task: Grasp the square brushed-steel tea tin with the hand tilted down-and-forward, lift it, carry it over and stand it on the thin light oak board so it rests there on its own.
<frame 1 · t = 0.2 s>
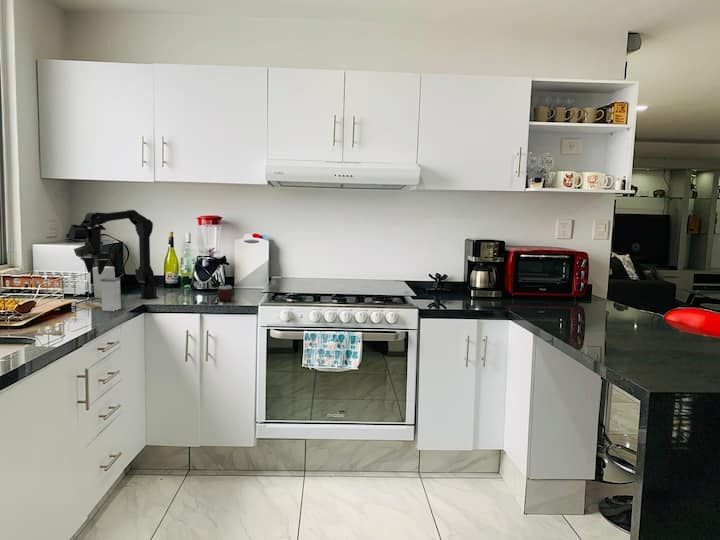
hand: (94, 273, 250), 15 cm above the worktop, tool pointing down, fingers open, 9 cm apart
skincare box: (105, 297, 273), on the worktop
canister: (111, 309, 241), on the worktop
mate gourd: (224, 301, 268), on the worktop
oak board: (91, 307, 250), on the worktop
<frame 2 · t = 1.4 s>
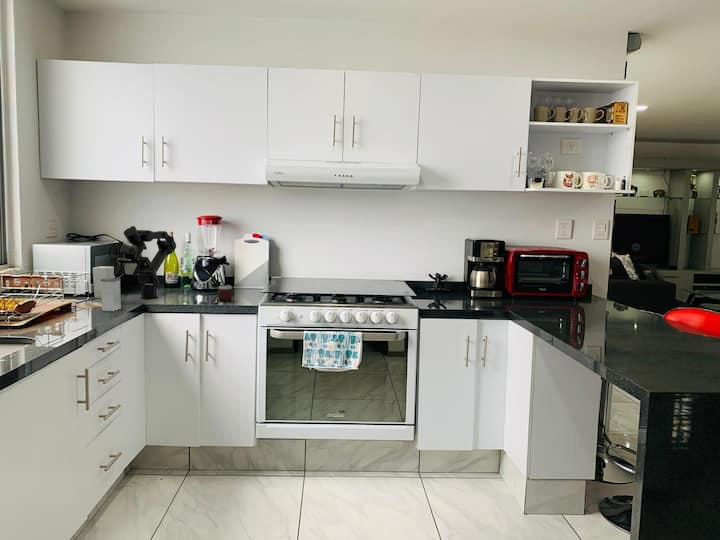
hand: (123, 275, 250), 14 cm above the worktop, tool tilted 45°, fingers open, 9 cm apart
nothing on the worktop moved.
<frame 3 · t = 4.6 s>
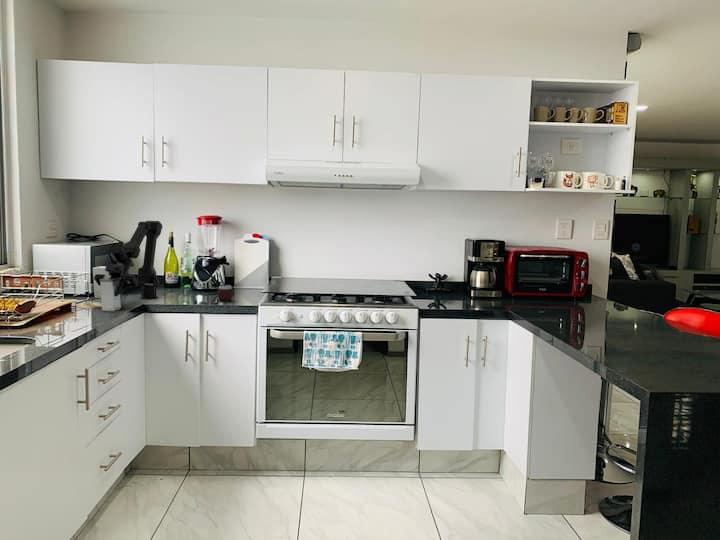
hand: (109, 295, 239), 7 cm above the worktop, tool tilted 45°, fingers closed on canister, 5 cm apart
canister: (111, 309, 241), on the worktop, touching gripper
everything else where it was.
when the fingers open (8 cm above the worktop, at t = 9.7 s): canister drops 2 cm, resting on oak board.
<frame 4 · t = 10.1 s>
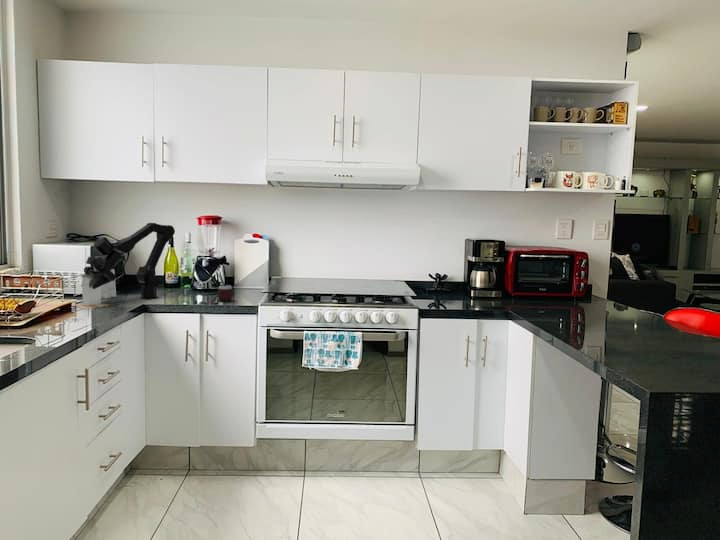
hand: (87, 287, 248), 9 cm above the worktop, tool tilted 45°, fingers open, 9 cm apart
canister: (91, 305, 250), resting on oak board
oak board: (91, 307, 250), on the worktop, touching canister
everything else where it was.
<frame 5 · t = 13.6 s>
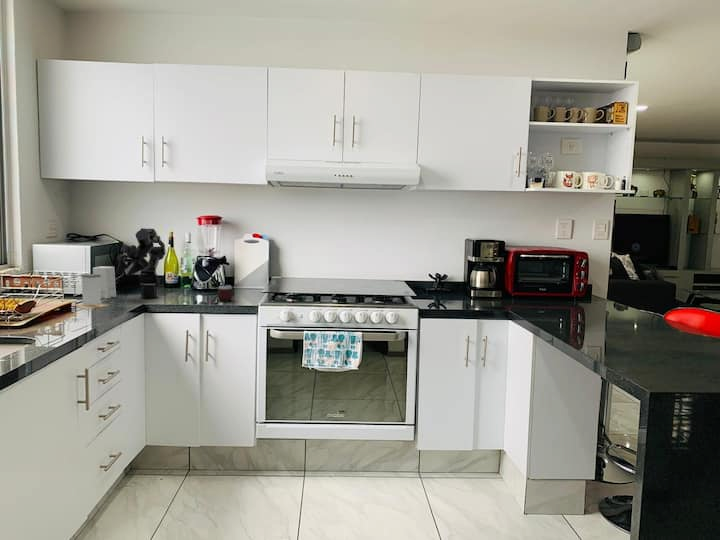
hand: (122, 274, 257), 14 cm above the worktop, tool tilted 45°, fingers open, 9 cm apart
nothing on the worktop moved.
at the end: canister inside the target area on the oak board (0.6 cm from its centre), point 1.0 cm above the oak board's base; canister tilted 0°; the gripper is holding nothing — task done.
